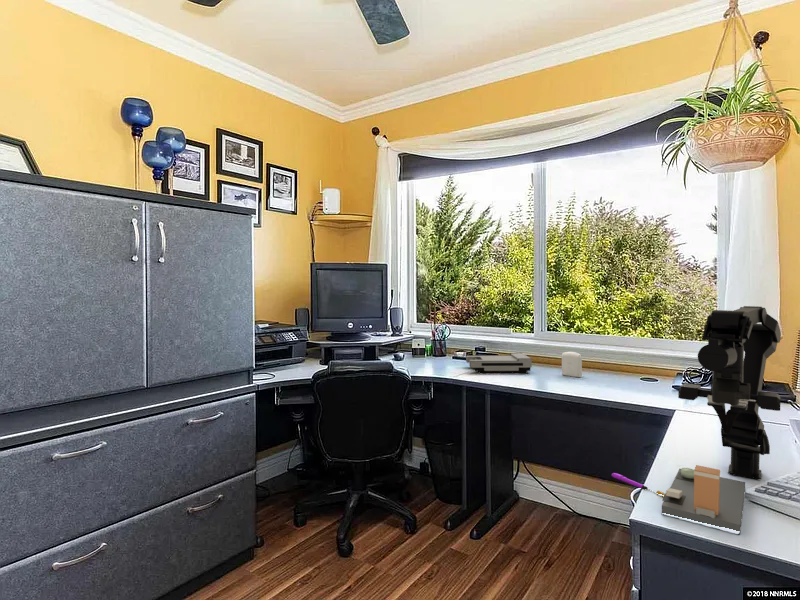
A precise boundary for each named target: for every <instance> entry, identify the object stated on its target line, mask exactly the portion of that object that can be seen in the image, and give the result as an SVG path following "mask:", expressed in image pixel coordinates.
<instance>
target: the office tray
mask: <svg viewBox="0 0 800 600" xmlns="http://www.w3.org/2000/svg"><path fill="white" fill-rule="evenodd" d="M532 361H533V359H532V358H531V357H529V356H527V355H526V354H524V353H523V352H510V353H509V354H505V355H504V354H499V355H498V354H495V355H493V354H491V355H490V354H489V355H486V354H483V355H482V354H478V355H477V354H476V355H475V354H474V355H468V354H467V355H465V362H466V363H468V364H469V367H470V368H473V370H474V371H477V372H478V371H479V372H480V373H521V374H527V373H528V371H529V372H530V371H531V368H532V367H533V366H532V364H533V362H532ZM479 372H478V373H479ZM480 373H479V374H480Z"/></svg>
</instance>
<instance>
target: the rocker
mask: <svg viewBox="0 0 800 600" xmlns="http://www.w3.org/2000/svg"><path fill="white" fill-rule="evenodd" d="M665 493H666V496H670V497H675V498H680V497H681V496H682V491H680V490H676V489H672V488H670V487H668V488H667V489H666V491H665Z"/></svg>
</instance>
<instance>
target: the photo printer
mask: <svg viewBox="0 0 800 600" xmlns="http://www.w3.org/2000/svg"><path fill="white" fill-rule="evenodd" d="M582 364H583V358H582V355H581V354H580V353H578V352H575V351H565V352H562V354H561V375H562V376H567V377H574V378H581V377H582V375H583V365H582Z"/></svg>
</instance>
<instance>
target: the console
mask: <svg viewBox="0 0 800 600" xmlns="http://www.w3.org/2000/svg"><path fill="white" fill-rule="evenodd" d="M669 488H672V489H676V490H680V491H682V496H681V497H680V498H675V497H670V496H666V492H665V493H664V494H665V495H664V497H662V500H661V501H662V503H661V514H662V513H666V514H670V515H674V516H678V517H682V518H687V519H691V520H694V521H698V522H702V523H707V524H711V525H715V526H719V527H725V528H729V529H733V530H736V531H740V532H741V530H740V527H742V522H741V519H742V520H743V514H742V511H743V512H744V505H743V503H745V497H744V492H745V493H746V482H745V481H743V480H742V481H741V480H736V479H732V478H728V477H722V476H720V502H719V513H718V515H715V511H713V510H708V509H704V508H700V507H696V510H694V479H689V478H685V477H683V476H681V468H679V469H678V471H677V473H676V475H675V476H674V479H673V481H672V483H671V486H670V487H669Z"/></svg>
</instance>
